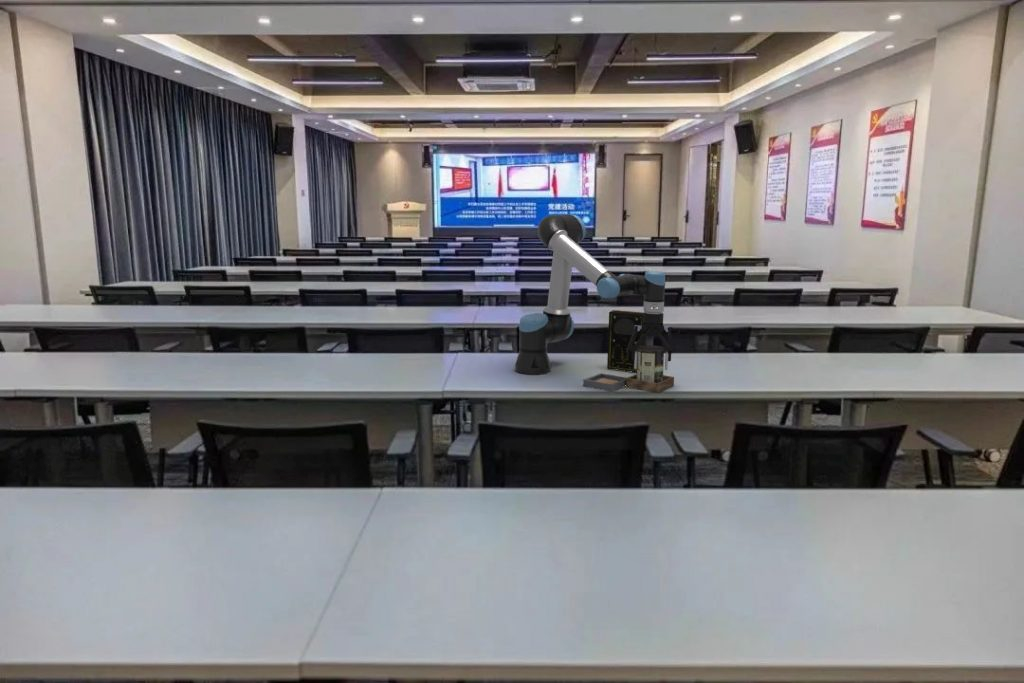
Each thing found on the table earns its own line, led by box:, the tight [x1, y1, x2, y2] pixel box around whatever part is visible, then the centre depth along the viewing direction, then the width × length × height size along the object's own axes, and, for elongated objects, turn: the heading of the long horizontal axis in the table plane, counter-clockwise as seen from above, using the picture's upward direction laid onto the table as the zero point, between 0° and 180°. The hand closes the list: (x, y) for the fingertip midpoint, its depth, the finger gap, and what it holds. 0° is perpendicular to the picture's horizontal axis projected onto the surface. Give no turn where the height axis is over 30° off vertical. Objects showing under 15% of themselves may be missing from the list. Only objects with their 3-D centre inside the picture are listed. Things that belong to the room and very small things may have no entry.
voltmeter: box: [606, 309, 647, 373], centre depth 288 cm, size 16×9×25 cm, turn 62°
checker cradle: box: [582, 372, 627, 393], centre depth 266 cm, size 13×13×2 cm
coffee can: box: [636, 344, 665, 383], centre depth 263 cm, size 10×10×14 cm
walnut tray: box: [625, 373, 675, 394], centre depth 264 cm, size 14×14×4 cm
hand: (650, 368), depth 263 cm, fingers open, 11 cm apart
